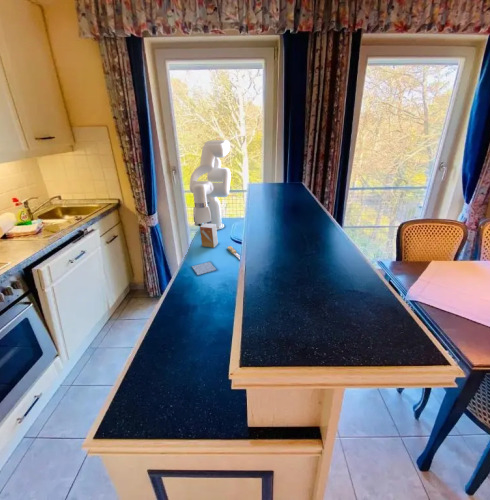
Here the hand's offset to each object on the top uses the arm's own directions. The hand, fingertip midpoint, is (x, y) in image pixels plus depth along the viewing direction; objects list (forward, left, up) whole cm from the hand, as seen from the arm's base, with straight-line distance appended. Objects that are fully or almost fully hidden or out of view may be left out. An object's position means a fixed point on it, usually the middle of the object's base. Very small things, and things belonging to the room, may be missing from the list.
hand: (204, 232), depth 176 cm
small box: (+9, 0, -5) cm, 10 cm away
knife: (+28, +8, -5) cm, 29 cm away
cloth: (+35, -13, -5) cm, 37 cm away
